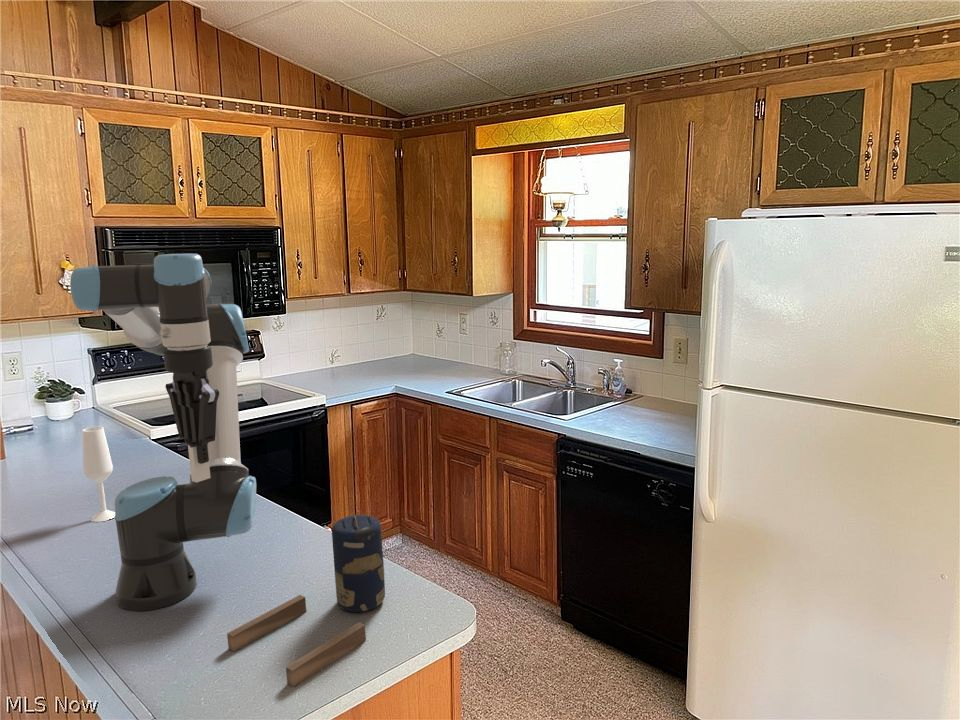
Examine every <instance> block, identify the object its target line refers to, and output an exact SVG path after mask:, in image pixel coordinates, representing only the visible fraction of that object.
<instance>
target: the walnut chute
mask: <svg viewBox="0 0 960 720" xmlns="http://www.w3.org/2000/svg"><path fill="white" fill-rule="evenodd" d="M306 602H307V601H306V596H304V595H302V594H298V595H297V596H295V597H293V598H291V599H289V600H287V601H285V602H283V603H282V604H279V605H277V606H276V607H273V608H272V609H270V610H268V611H267V612H265V613H263V614H261V615H258V616H257V617H255V618H253V619H251V620H249V621H247V622H246V623H244V624H242V625H240V626H238V627H236V628H234V629H233V630H231V631H228V632H226V636H227V646H228V649H229V650H231V651H232V652H236V651H239V650H240V649H241V648H244V647H245V646H247V645H249V644H251V643H252V642H254V641H256V640H258V639H260V638H261V637H264V636H265V635H266V634H268V633H270V632H272V631H273V630H275V629H277V628H279V627H281V626H283V625H284V624H287V623H288V622H290V621H291V620H293V619H296V618H298V617H299V616H301V615H302V614H304V613H306V612H307V605H306V604H307V603H306ZM366 641H367V636H366V625H365V624H364V623H362V622H360V621H358V622H357V623H355V624H353V625H352V626H350V627H349V628H347V629H345V630H343V631H342V632H340V633H339V634H337V635H336V636H334V637H332V638H331V639H329V640H327V641H326V642H324V643H323V644H321V645H319V646H318V647H316V648H315V649H312V650H311V651H310V652H308V653H307V654H305V655H303V656H302V657H300V658H298V659H296V660H295V661H294V662H291V663H290V664H289V665H287V666H286V667H285V672H286V683H287V684H288V685H289V686H291V687H292V688H295V687H296V686H298V685H299V684H301V683H302V682H304V681H305V680H307V679H308V678H310V677H312V676H313V675H315V674H316V673H318V672H319V671H321V670H322V669H324V668H325V667H327V666H329V665H330V664H332V663H333V662H335V661H336V660H338V659H339V658H341V657H342V656H344V655H346V654H347V653H348V652H350V651H352V650H353V649H355V648H356V647H358V646H359V645H361V644H362V643H364V642H366Z"/></svg>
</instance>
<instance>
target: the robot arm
mask: <svg viewBox="0 0 960 720" xmlns="http://www.w3.org/2000/svg"><path fill="white" fill-rule="evenodd" d="M203 264H204V263H203V259H202V256H201V255H200V254H198V253H189V252H188V253H166V254H158V255H156V256H155V257H154V258H153V264H132V265H130V264H129V265H127V264H126V265H91V266H84V267H78V268H75V269H74V270H73V271H72V272H71V274H70V283H69V286H70V294H71V298H72V302H73V305H74V306H75V308H76V309H78V310H80V311H92V312H97V311H103V313H105V314H106V315H107V316H109V318H110V319H112V320H113V321H114V322H115V323H116V324H117V325H118V326H119V327H120V328H121V329H122V330H123V335H124V336H125V337H126V339H127V340H128V341H129V343H131V344H132V345H134V346H136V347H137V348H139V349H141V350H143V351H145V352H148V353H152V354H154V355H157V356H162V357H163V362H164V369H165V371H166V372H168V373H171V374H172V382H169V383H166V384H165V386H164V387H165V390H166V393H167V394H168V396H169V401H170V405H171V409H172V413H173V416H174V417H173V418H174V421H175V426H176V429H177V434H178V438H179V439H181V440H182V439H184V443H185V444H187V448H188V449H187V452H188V459H189V460H188V461H189V466H190V474H189V477H190V478H189V483H183V484H178V481H177V480H176V478H174V476H165V475H163V476H156V477H151V478H146V479H144V480H141V481H138V482H135V483H133V484H132V485H129V486H127V487H125V488H124V489H123V490H121V491H120V492H119V493H118V494H117V495H116V497H115V499H114V512H115V519H114V520H115V525H116V532H117V538H118V539H117V540H118V546H119V553H120V560H121V561H120V562H121V565H120V569H119V574H118V578H117V582H116V587H115V598H116V603H117V605H118V606H119V607H120V608H122V609H124V610H128V611H136V612H139V611H142V612H143V611H150V610H151V611H152V610H157V609H161V608H165V607H167V606H171V605H174V604H175V603H178V602H180V601H182V600H184V599H185V598H187V597H189V595H191V594H192V593H193V592H194V591H195V589H196V587H197V584H198V583H197V574H196V571H195V569H194V567H193V565H192V563H191V562H190V561H191V560H190V559H189V558H188V555H187V553H186V551H185V548H184V543H187V542H193V541H194V542H195V541H201V540H209V539H218V538H223V537H226V538H230V537H232V536H237V535H243V534H246V533H248V532H250V531H251V529H252V528H253V525H254V521H255V516H256V508H257V479H256V477H255V476H252V475H250V473H249V468H248V467H246V466H245V465H244V464H242V461H241V447H240V446H241V444H240V442H241V441H240V422H239V421H240V419H239V401H238V399H239V398H238V394H239V393H238V380H237V379H238V377H237V376H238V375H237V374H238V373H237V366H239V365H240V364H242V362H243V360H244V354H246V353H249V351H250V347H249V343H248V337H247V333H246V332H247V331H246V327H245V322H244V317H243V312H242V310H241V307H240V306H239V305H237V304H234V303H231V304H229V303H228V304H227V303H226V304H225V303H224V304H223V303H218V304H208V303H207V298H208V297H210V296H209V295H210V294H211V290H212V278H211V275H210V273H209V271H208V270H207V269H206V268H204V265H203Z"/></svg>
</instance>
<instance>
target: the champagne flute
mask: <svg viewBox="0 0 960 720" xmlns="http://www.w3.org/2000/svg"><path fill="white" fill-rule="evenodd" d="M105 433H106V432H105V428H104V426H98V425H96V426H89V427H86V428H83V429H82V456H83V457H82V458H83V459H82V461H83V475H85V477H86V478H88V479H89V480H91V481H92V482H94V483H97V487H98V496H99V502H100V508H101V509H100V510H101V511H99V512H98V513H96V514H95V515H94V516H93V517H91V518H92V521H106V520H109V519H112V518H114V517H115V511H112V510H109V509H107V504H106V495H105V490H104V489H105V488H104V481H106V480H107V478H109V476H110V475H111V474H112V472H113V470H114V466H113V460H112V457H111V454H110V450H109V445H108V441H107V440H108V439H107V437H106V434H105ZM92 521H91V522H92ZM106 522H107V521H106Z"/></svg>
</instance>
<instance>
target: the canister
mask: <svg viewBox="0 0 960 720" xmlns="http://www.w3.org/2000/svg"><path fill="white" fill-rule="evenodd" d="M382 535H383V534H382V525H381V522H380V521H379V519H377V518H376V517H375V516H371V515H367V514H354V515H349V516H346V517H343V518H340V519H338V520H337V521H336V522H335V523H334V524H333V525H332V527H331V538H332V539H331V541H332V553H333V566H334V581H335V582H334V583H335V592H336V593H335V594H336V602H337V604H338V606H339V607H340V608H341V609H343V610H345V611H347V612H354V613H359V612H366V611H369V610H370V611H371V610H372V609H375V608H377V607H378V606H379V605H381V604H382V603H383V602H384V600H385V596H386V587H385V586H386V584H385V583H386V580H385V562H384V553H383V536H382Z"/></svg>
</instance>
